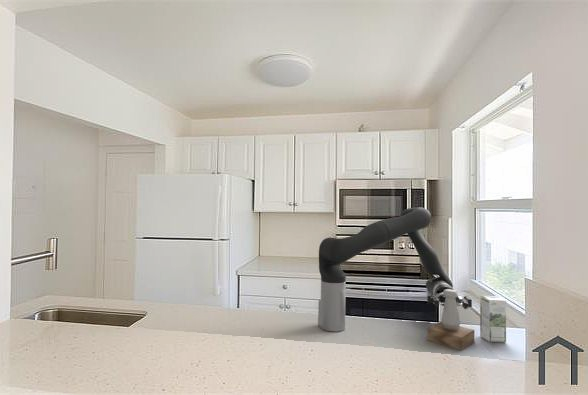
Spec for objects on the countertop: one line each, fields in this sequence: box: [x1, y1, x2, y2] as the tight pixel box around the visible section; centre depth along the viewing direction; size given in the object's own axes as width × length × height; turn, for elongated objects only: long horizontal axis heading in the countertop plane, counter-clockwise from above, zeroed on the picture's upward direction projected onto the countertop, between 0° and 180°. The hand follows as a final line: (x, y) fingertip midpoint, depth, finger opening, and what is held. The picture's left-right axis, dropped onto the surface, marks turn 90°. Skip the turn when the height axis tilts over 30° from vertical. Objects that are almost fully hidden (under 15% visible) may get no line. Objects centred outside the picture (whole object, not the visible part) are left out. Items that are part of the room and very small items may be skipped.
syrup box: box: [479, 295, 507, 343], centre depth 111 cm, size 6×6×14 cm
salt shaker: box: [440, 289, 461, 331], centre depth 109 cm, size 6×6×13 cm
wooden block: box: [427, 321, 475, 351], centre depth 109 cm, size 11×11×4 cm
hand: (451, 304), depth 108 cm, fingers open, 8 cm apart
